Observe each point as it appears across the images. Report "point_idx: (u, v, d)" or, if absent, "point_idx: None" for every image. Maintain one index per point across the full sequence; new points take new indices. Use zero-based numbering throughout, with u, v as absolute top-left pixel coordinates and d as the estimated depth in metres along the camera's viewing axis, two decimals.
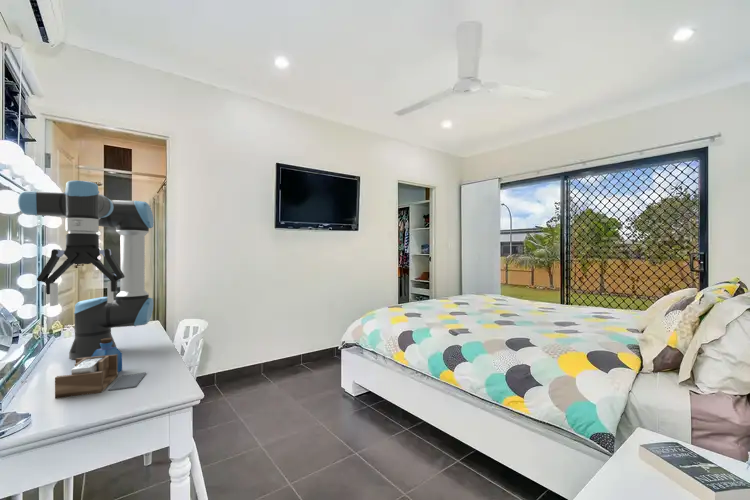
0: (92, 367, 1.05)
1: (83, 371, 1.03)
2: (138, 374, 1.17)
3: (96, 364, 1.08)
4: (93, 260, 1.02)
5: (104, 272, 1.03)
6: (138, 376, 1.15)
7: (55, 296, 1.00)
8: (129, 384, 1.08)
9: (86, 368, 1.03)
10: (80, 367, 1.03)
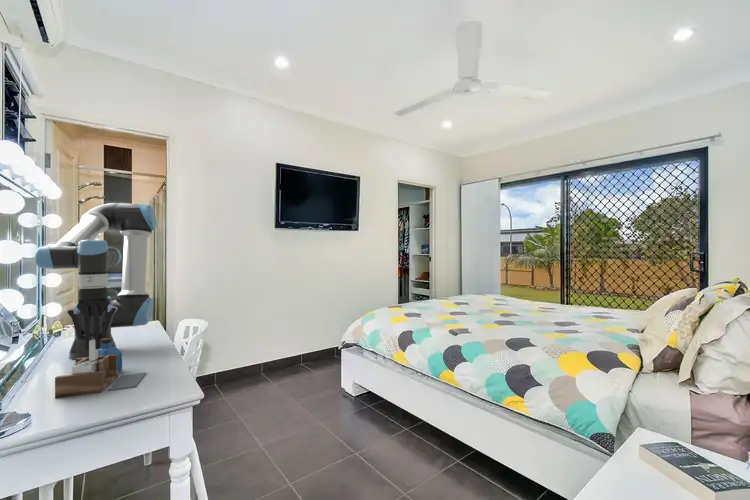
0: (93, 365, 1.05)
1: (83, 369, 1.03)
2: (138, 374, 1.17)
3: (96, 363, 1.08)
4: (97, 315, 1.10)
5: (96, 328, 1.11)
6: (138, 376, 1.15)
7: None
8: (129, 384, 1.08)
9: (87, 366, 1.03)
10: (81, 365, 1.04)
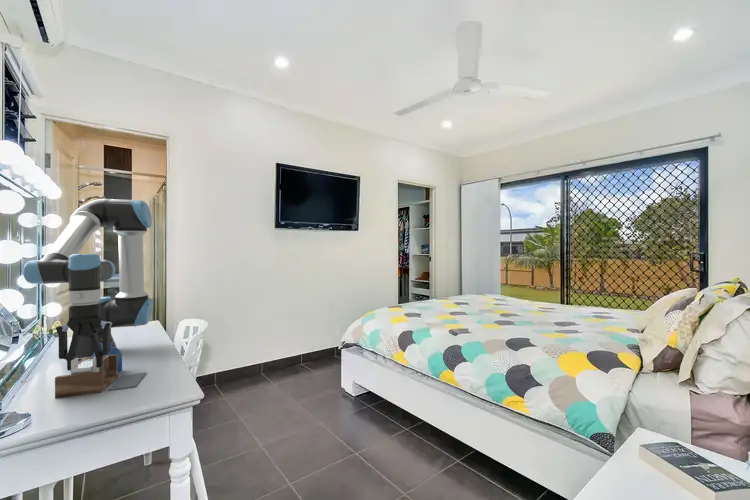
0: (92, 367, 1.05)
1: (83, 371, 1.03)
2: (138, 374, 1.17)
3: None
4: (91, 332, 1.05)
5: (94, 346, 1.05)
6: (138, 376, 1.15)
7: None
8: (129, 384, 1.08)
9: (86, 368, 1.03)
10: (80, 367, 1.03)
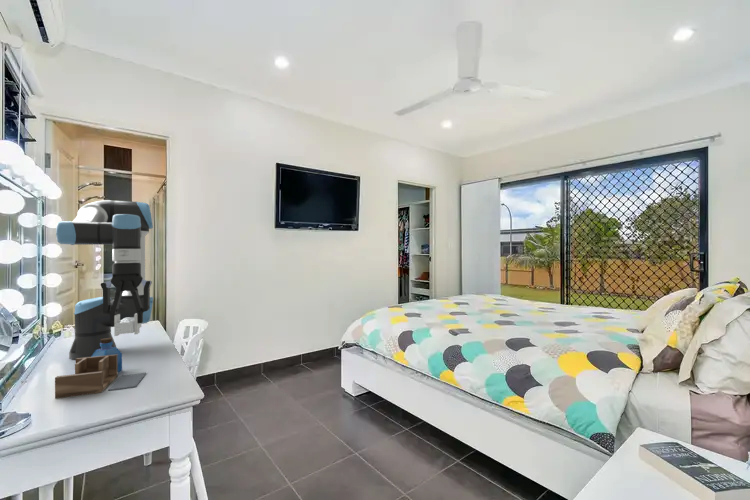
0: None
1: (126, 325, 1.08)
2: (138, 374, 1.17)
3: None
4: (133, 289, 1.10)
5: (136, 303, 1.11)
6: (138, 376, 1.15)
7: None
8: (129, 384, 1.08)
9: (129, 323, 1.08)
10: (123, 322, 1.08)
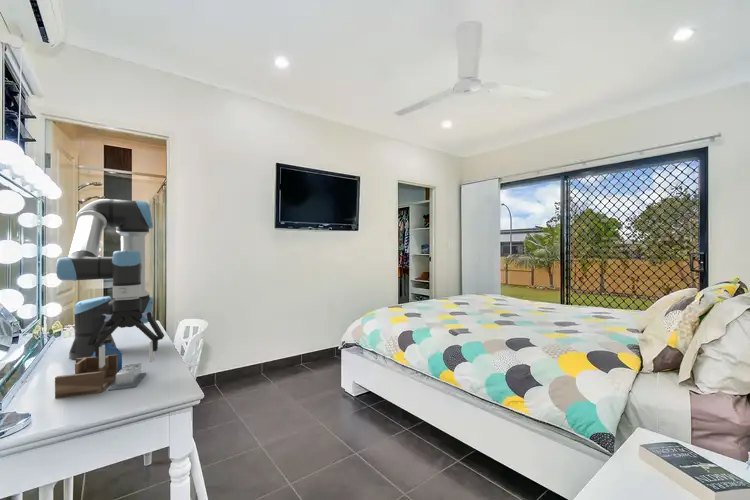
0: (134, 372, 1.10)
1: (126, 376, 1.08)
2: None
3: (137, 369, 1.13)
4: (137, 323, 1.10)
5: (147, 334, 1.12)
6: None
7: (103, 358, 1.08)
8: (129, 384, 1.08)
9: (129, 374, 1.08)
10: (123, 373, 1.08)
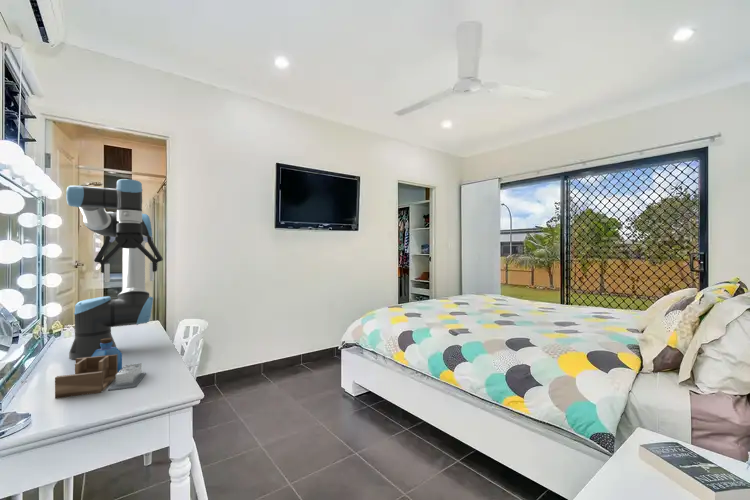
0: (134, 372, 1.10)
1: (126, 376, 1.08)
2: None
3: (137, 369, 1.13)
4: (138, 245, 1.23)
5: (147, 255, 1.25)
6: None
7: (108, 274, 1.21)
8: (129, 384, 1.08)
9: (129, 374, 1.08)
10: (123, 373, 1.08)
